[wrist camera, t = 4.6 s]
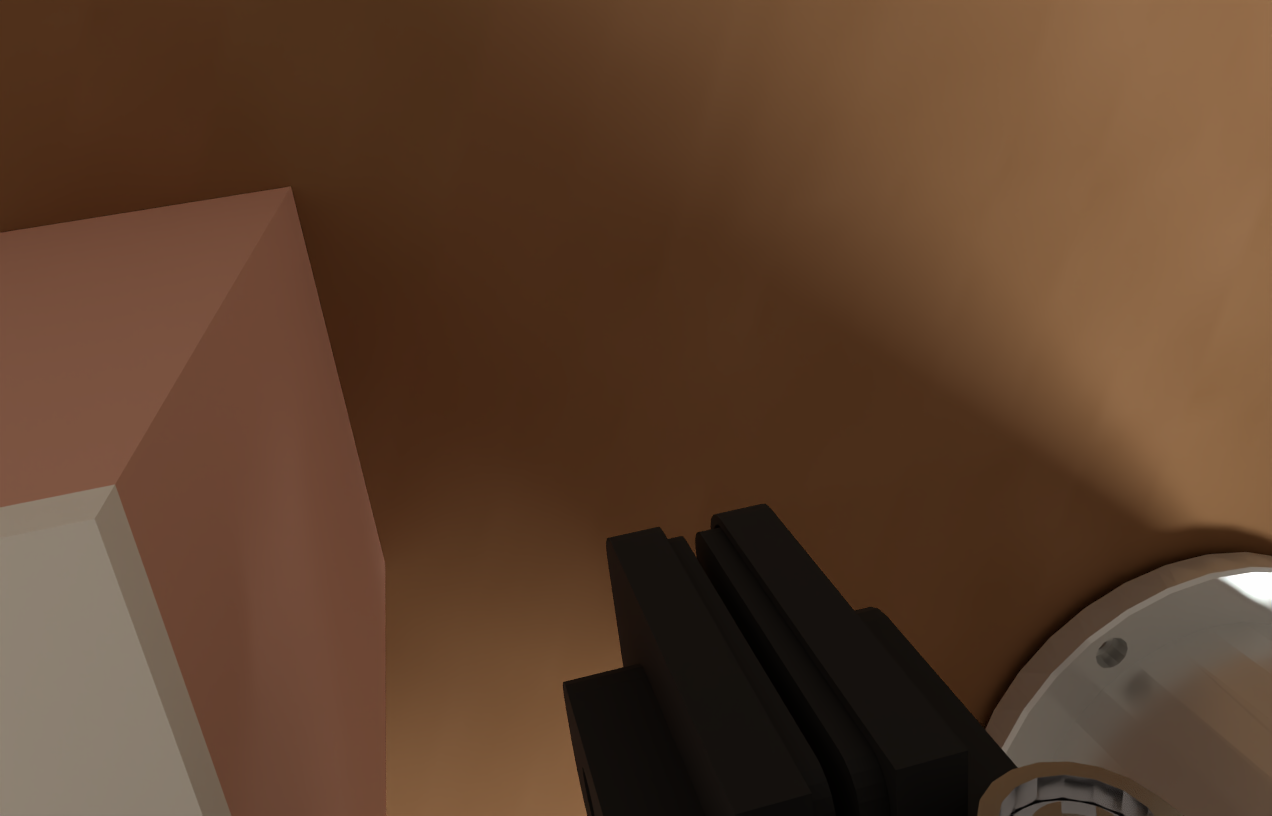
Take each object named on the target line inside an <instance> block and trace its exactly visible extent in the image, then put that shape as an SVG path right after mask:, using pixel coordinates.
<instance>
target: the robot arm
mask: <svg viewBox="0 0 1272 816" xmlns="http://www.w3.org/2000/svg"><path fill="white" fill-rule="evenodd" d="M695 543H696V555H697V558H696V556H695V555H694V553H693V551H692V550H691V548H690V546H689V545H688V543H687V541H686V540H685V538H684V537H683V536H680V537H675V538H671V539H667V538H666V536H665V534H664V532H663V531H662V529H661V528H660V527H656V528H651V529H647V530H642V531H638V532H633V533H629V534H624V535H620V536H615V537H611V538H607V541H606V549H607V558H608V565H609V572H610V579H611V585H612V592H613V599H614V606H615V613H616V620H617V626H618V633H619V640H620V647H621V654H622V661H623V668H619V669H615V670H610V671H606V672H602V673H598V674H594V675H590V676H586V677H582V678H578V679H574V680H570V681H566V682H563V691H564V698H565V705H566V711H567V716H568V722H569V728H570V734H571V739H572V745H573V750H574V756H575V761H576V766H577V771H578V776H579V781H580V785H581V790H582V794H583V799H584V803H585V808H586V812H587V816H1272V556H1270V555H1263V554H1257V553H1250V552H1236V553H1221V554H1207V555H1203V556H1199V557H1195V558H1191V559H1187V560H1183V561H1179V562H1175V563H1171V564H1167V565H1165V566H1162V567H1160V568H1158V569H1155V570H1153V571H1151V572H1149V573H1146V574H1144V575H1142V576H1139V577H1137V578H1135V579H1133V580H1130V581H1128V582H1126V583H1124V584H1122V585H1121V586H1119V587H1117V588H1116V589H1114V590H1113V591H1111V592H1110V593H1108V594H1106V595H1105V596H1103V597H1102V598H1100V599H1098V600H1097V601H1095V602H1094V603H1092V604H1090V605H1089V606H1087V607H1086V608H1084V609H1083V610H1082V611H1081V612H1080V613H1078V614H1077V615H1076V616H1075V617H1074V618H1072V619H1071V620H1070V621H1069V622H1068V623H1067V624H1065V625H1064V626H1063V627H1062V628H1061V629H1059V630H1058V631H1057V632H1056V633H1055V634H1053V635H1052V636H1051V637H1050V638H1049V639H1048V640H1047V641H1046V642H1045V643H1044V645H1043V646H1042V647H1041V648H1040V649H1039V650H1038V651H1037V652H1036V654H1035V655H1034V656H1033V657H1032V658H1031V659H1030V660H1029V661H1028V663H1027V664H1026V665H1025V666H1024V667H1023V668H1022V669H1021V670H1020V672H1019V673H1018V674H1017V676H1016V677H1015V679H1014V680H1013V682H1012V684H1011V685H1010V687H1009V688H1008V690H1007V691H1006V693H1005V694H1004V696H1003V697H1002V699H1001V700H1000V702H999V703H998V705H997V706H996V708H995V709H994V711H993V714H992V716H991V718H990V720H989V722H988V725H987V727H986V729H984V728H983V727H982V726H981V724H980V723H979V722H978V721H977V720H976V719H975V717H974V716H973V715H972V714H971V713H970V712H969V711H968V709H967V708H966V707H965V706H964V705H963V704H962V702H961V701H960V700H959V699H958V698H957V697H956V696H955V694H954V693H953V692H952V691H951V690H950V689H949V687H948V686H947V685H946V684H945V683H944V682H943V680H942V679H941V678H940V677H939V676H938V675H937V674H936V672H935V671H934V670H933V669H932V668H931V667H930V665H929V664H928V663H927V662H926V661H925V660H924V659H923V657H922V656H921V655H920V654H919V653H918V652H917V650H916V649H915V648H914V647H913V646H912V645H911V644H910V642H909V641H908V640H907V639H906V638H905V637H904V635H903V634H902V633H901V632H900V631H899V630H898V628H897V627H896V626H895V625H894V624H893V623H892V622H891V620H890V619H889V618H888V617H887V616H886V615H885V614H884V613H883V612H881V611H880V610H879V609H878V608H873V607H868V608H864V609H860V610H856V611H854V610H853V609H852V607H851V606H850V605H849V604H848V602H847V601H846V600H845V599H844V598H843V596H842V595H841V594H840V593H839V591H838V590H837V589H836V588H835V587H834V585H833V584H832V583H831V582H830V580H829V579H828V578H827V577H826V576H825V574H824V573H823V572H822V571H821V569H820V568H819V567H818V566H817V565H816V563H815V562H814V561H813V560H812V558H811V557H810V556H809V555H808V554H807V552H806V551H805V550H804V549H803V547H802V546H801V545H800V544H799V543H798V541H797V540H796V539H795V538H794V536H793V535H792V534H791V533H790V532H789V530H788V529H787V528H786V527H785V525H784V524H783V523H782V522H781V521H780V519H779V518H778V517H777V516H776V514H775V513H774V512H773V511H772V510H771V508H770V507H769V506H768V505H766V504H760V505H755V506H751V507H746V508H742V509H737V510H732V511H728V512H723V513H719V514H714V515H713V516H712V518H711V530H706V531H702V532H698V533H697V534H696V539H695Z"/></svg>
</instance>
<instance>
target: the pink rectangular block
mask: <svg viewBox="0 0 1272 816" xmlns="http://www.w3.org/2000/svg"><path fill="white" fill-rule="evenodd" d="M0 816H386V645H385V561H384V557H383V553H382V549H381V545H380V541H379V537H378V533H377V529H376V525H375V521H374V517H373V513H372V509H371V505H370V501H369V497H368V493H367V489H366V485H365V481H364V477H363V473H362V469H361V465H360V461H359V457H358V453H357V449H356V445H355V441H354V437H353V433H352V429H351V425H350V421H349V417H348V413H347V409H346V405H345V401H344V397H343V393H342V389H341V385H340V381H339V377H338V373H337V369H336V365H335V361H334V357H333V353H332V349H331V345H330V341H329V337H328V333H327V329H326V325H325V321H324V317H323V313H322V309H321V305H320V301H319V297H318V293H317V289H316V285H315V281H314V277H313V273H312V269H311V265H310V261H309V257H308V253H307V249H306V245H305V241H304V237H303V233H302V229H301V225H300V221H299V217H298V213H297V209H296V205H295V201H294V197H293V193H292V189H291V186H290V187H284V188H278V189H272V190H265V191H259V192H253V193H247V194H240V195H234V196H228V197H221V198H215V199H209V200H203V201H196V202H190V203H184V204H177V205H171V206H165V207H159V208H152V209H146V210H140V211H133V212H127V213H121V214H115V215H108V216H102V217H96V218H90V219H83V220H77V221H71V222H64V223H58V224H52V225H46V226H39V227H33V228H27V229H20V230H14V231H8V232H2V233H0Z"/></svg>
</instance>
